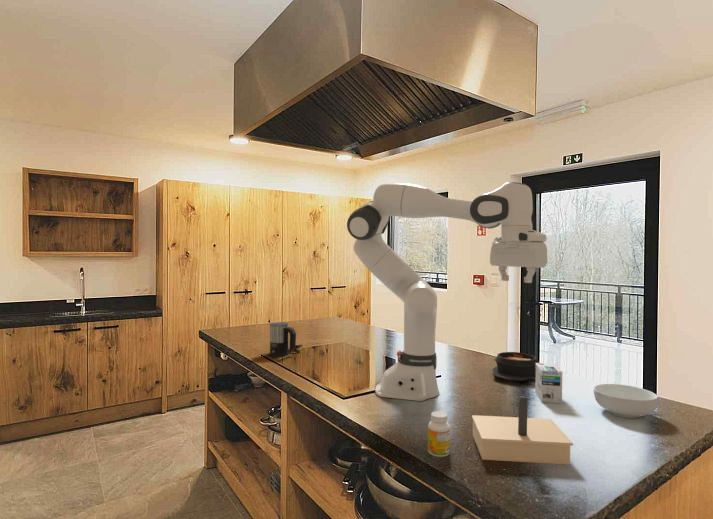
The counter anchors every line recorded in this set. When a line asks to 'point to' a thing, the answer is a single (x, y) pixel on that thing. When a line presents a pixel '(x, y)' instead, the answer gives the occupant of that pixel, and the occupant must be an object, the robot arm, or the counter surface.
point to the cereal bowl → (625, 400)
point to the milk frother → (282, 339)
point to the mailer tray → (522, 451)
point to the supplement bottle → (439, 434)
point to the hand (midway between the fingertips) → (516, 281)
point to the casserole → (515, 366)
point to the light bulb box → (548, 383)
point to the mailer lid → (520, 428)
